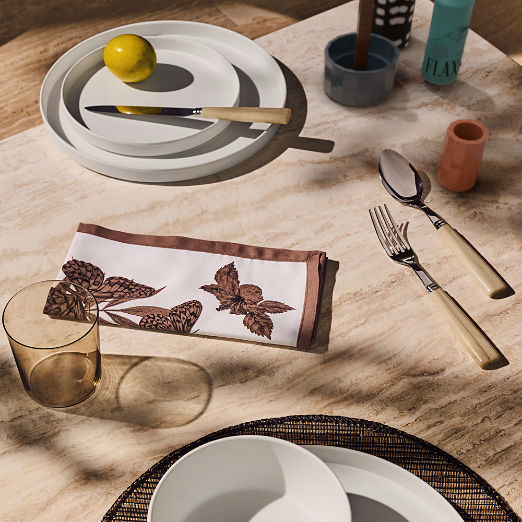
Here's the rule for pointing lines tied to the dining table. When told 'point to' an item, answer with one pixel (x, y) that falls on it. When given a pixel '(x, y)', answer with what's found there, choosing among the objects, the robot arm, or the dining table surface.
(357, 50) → the stirring stick
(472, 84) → the dining table surface
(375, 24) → the glass
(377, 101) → the bowl
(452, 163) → the crock
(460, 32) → the beverage bottle
